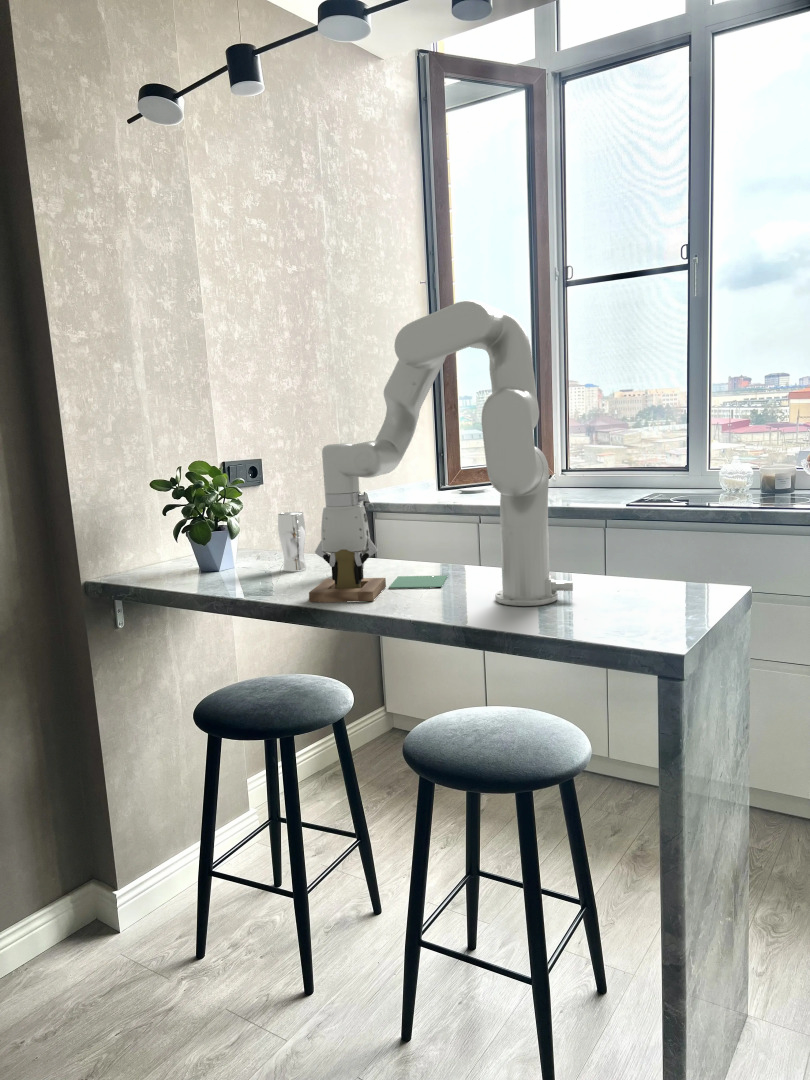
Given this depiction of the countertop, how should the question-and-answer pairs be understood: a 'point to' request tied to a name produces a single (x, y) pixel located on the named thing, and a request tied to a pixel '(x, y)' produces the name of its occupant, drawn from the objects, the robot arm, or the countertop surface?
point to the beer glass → (292, 540)
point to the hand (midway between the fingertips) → (348, 582)
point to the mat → (418, 581)
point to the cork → (346, 570)
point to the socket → (347, 591)
